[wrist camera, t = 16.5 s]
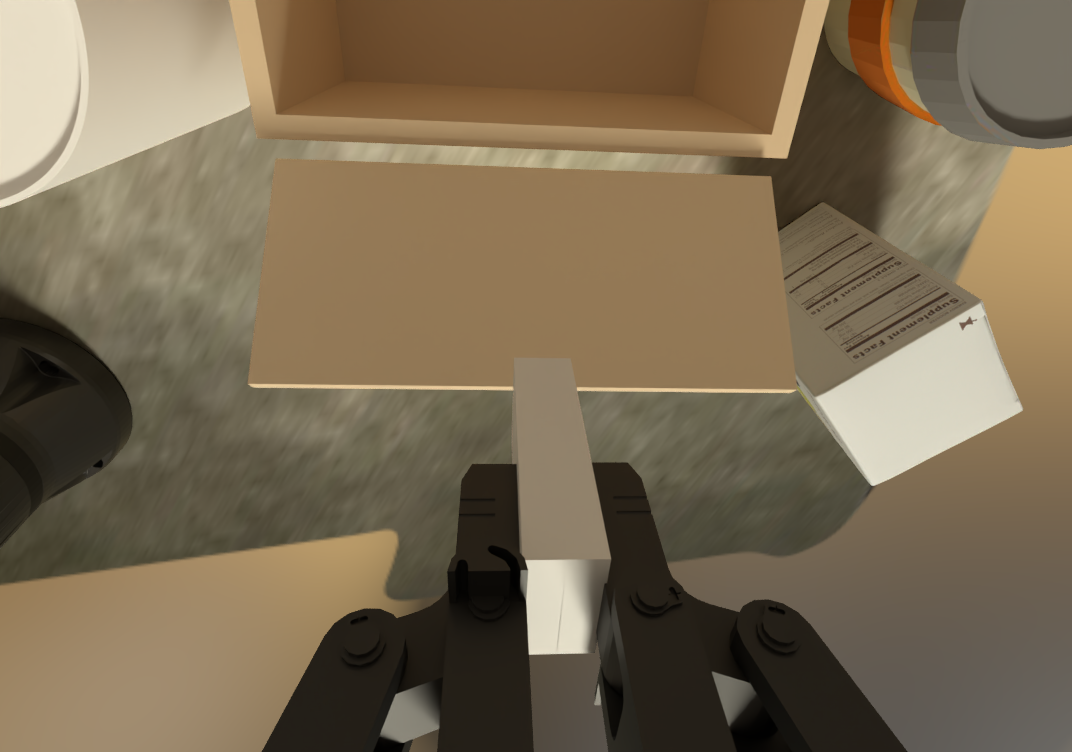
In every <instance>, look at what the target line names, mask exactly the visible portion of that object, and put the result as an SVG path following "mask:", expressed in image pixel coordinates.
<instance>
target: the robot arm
mask: <svg viewBox="0 0 1072 752" xmlns="http://www.w3.org/2000/svg"><path fill="white" fill-rule="evenodd" d="M131 430H132V413H131V408H130V405H129V402H128V399H127V397H126V395H125V393H124V391H123V390H122V388H121V386H120V385H119V383H118V382H117V381H116V379H115V378H114V377H113V376H112V374H111V373H110V372H109V371H108V370H107V369H106V368H105V367H104V366H103V365H102V364H101V363H100V362H99V361H98V360H96V359H95V358H94V357H93V356H92V355H90V354H89V353H88V352H86V351H85V350H83V349H82V348H81V347H79V346H77V345H76V344H74V343H73V342H71V341H69V340H67V339H65V338H64V337H62V336H59V335H57V334H55V333H53V332H51V331H48V330H46V329H43V328H41V327H38V326H34V325H31V324H28V323H24V322H19V321H15V320H9V319H0V548H1V547H2V546H3V545H4V544H5V543H6V542H7V541H8V539H9V538H10V537H11V536H12V535H13V534H14V533H15V532H16V531H17V530H18V529H19V527H20V526H21V525H22V524H23V523H24V522H25V520H26V519H27V518H28V517H29V516H30V515H31V514H32V513H33V512H34V511H35V510H36V509H37V508H38V507H39V506H40V505H41V504H42V503H44V502H46V501H48V500H49V499H51V498H53V497H55V496H57V495H58V494H60V493H62V492H64V491H66V490H67V489H69V488H71V487H73V486H75V485H76V484H78V483H80V482H82V481H83V480H85V479H86V478H89V477H91V476H92V475H94V474H96V473H97V472H99V471H100V470H102V469H103V468H104V467H106V466H107V465H108V464H109V463H110V462H111V461H112V460H113V458H114V457H115V456H116V455H117V454H118V453H119V451H120V450H121V449H122V448H123V447H124V445H125V444H126V443H127V441H128V439H129V436H130V434H131ZM447 573H448V591H447V592H446V593H445V594H444V595H443V596H442V598H441V599H440V600H438V601H437V602H435V603H434V604H433V605H431V606H430V607H428V608H425V609H423V610H420V611H418V612H415V613H412V614H409V615H406V616H403V617H399V618H396V617H395V616H394V615H393V614H391V613H389V612H386V611H384V610H382V609H362V610H358V611H355V612H352V613H349V614H347V615H346V616H344V617H343V618H341V619H340V620H339V621H337V622H336V623H334V625H333V626H332V627H331V629H330V630H329V631H328V632H327V634H326V635H325V636H324V638H323V640H322V642H321V643H320V645H319V647H318V649H317V651H316V653H315V654H314V656H313V658H312V660H311V662H310V664H309V666H308V667H307V669H306V671H305V673H304V675H303V677H302V678H301V681H300V682H299V684H298V686H297V688H296V690H295V691H294V693H293V695H292V697H291V699H290V701H289V702H288V705H287V706H286V708H285V710H284V712H283V713H282V715H281V717H280V719H279V721H278V723H277V724H276V726H275V728H274V730H273V732H272V734H271V736H270V737H269V739H268V741H267V743H266V745H265V747H264V749H263V750H262V752H409V750H410V747H411V744H412V741H413V739H414V738H416V737H419V736H421V735H424V734H426V733H429V732H431V731H434V730H436V729H439V736H438V749H437V752H534V749H533V729H532V710H531V709H532V708H531V688H530V667H529V654H567V653H595V649H596V643H597V641H598V647H599V653H600V660H601V664H600V669H599V674H598V680H597V685H596V691H595V704H594V705H600V702H601V704H602V711H603V718H604V725H605V732H606V739H607V746H608V752H907V751H906V749H905V748H904V747H903V745H902V744H901V743H900V741H899V740H898V739H897V737H896V736H895V735H894V734H893V732H892V731H891V730H890V728H889V727H888V726H887V724H886V723H885V722H884V720H883V719H882V718H881V716H880V715H879V714H878V713H877V711H876V710H875V709H874V707H873V706H872V705H871V703H870V702H869V701H868V699H867V698H866V697H865V696H864V694H863V693H862V692H861V690H860V689H859V688H858V687H857V685H856V684H855V683H854V681H853V680H852V679H851V677H850V676H849V675H848V673H847V672H846V671H845V670H844V668H843V667H842V666H841V664H840V663H839V661H838V660H837V659H836V658H835V656H834V655H833V654H832V652H831V651H830V650H829V648H828V647H827V646H826V644H825V643H824V642H823V641H822V639H821V638H820V637H819V635H818V634H817V633H816V631H815V630H814V629H813V627H812V626H811V625H810V624H809V623H808V622H807V621H806V620H805V619H804V618H803V617H802V616H801V615H800V614H799V613H798V612H797V611H795V610H793V609H792V608H790V607H788V606H786V605H785V604H783V603H779V602H775V601H771V600H754V601H752V602H750V603H748V604H746V605H744V606H743V607H742V609H741V611H740V612H736V611H733V610H729V609H725V608H722V607H718V606H715V605H711V604H708V603H705V602H703V601H700V600H698V599H696V598H694V597H693V596H691V595H689V594H688V593H687V592H685V591H684V589H683V587H682V586H681V585H680V584H679V583H678V582H677V581H676V580H674V579H673V577H672V576H671V574H670V571H669V569H668V566H667V562H666V559H665V556H664V552H663V549H662V546H661V542H660V539H659V536H658V532H657V529H656V526H655V522H654V519H653V516H652V515H651V509H650V506H649V502H648V500H647V496H646V492H645V489H644V486H643V482H642V479H641V477H640V476H639V475H638V474H637V473H636V472H635V470H634V469H633V468H632V467H631V466H630V465H629V464H628V463H592V462H591V457H590V452H589V447H588V442H587V437H586V432H585V427H584V422H583V417H582V412H581V407H580V402H579V397H578V392H577V387H576V383H575V378H574V373H573V368H572V363H571V358H514V375H513V409H512V464H472V465H471V467H470V468H469V470H468V471H467V473H466V474H465V476H464V478H463V479H462V483H461V495H460V508H459V521H458V533H457V546H456V555H455V556H454V557H453V558H452V559H451V562H450V565H449V568H448V571H447Z"/></svg>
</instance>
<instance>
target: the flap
mask: <svg viewBox="0 0 1072 752" xmlns="http://www.w3.org/2000/svg"><path fill="white" fill-rule="evenodd" d="M514 358H571V363H572V368H573V373H574V378H575V383H576V387H577V391H647V392H745V393H791V392H793V391H796V390H797V383H796V374H795V366H794V358H793V350H792V342H791V334H790V326H789V318H788V309H787V301H786V293H785V285H784V277H783V269H782V261H781V253H780V244H779V236H778V228H777V220H776V212H775V204H774V196H773V188H772V179H771V176H747V175H719V174H691V173H664V172H636V171H608V170H580V169H552V168H524V167H497V166H469V165H441V164H413V163H385V162H358V161H330V160H302V159H276V160H275V168H274V176H273V184H272V192H271V200H270V208H269V216H268V224H267V232H266V240H265V248H264V256H263V264H262V272H261V280H260V288H259V296H258V304H257V312H256V320H255V328H254V336H253V344H252V353H251V361H250V369H249V377H248V384H249V385H250V386H252V387H255V388H353V389H451V390H513V375H514Z"/></svg>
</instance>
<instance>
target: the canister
mask: <svg viewBox="0 0 1072 752" xmlns="http://www.w3.org/2000/svg"><path fill="white" fill-rule="evenodd" d="M248 106H250V101H249V96H248V91H247V86H246V81H245V76H244V71H243V67H242V62H241V57H240V52H239V47H238V42H237V37H236V32H235V27H234V22H233V18H232V13H231V8H230V3H229V0H0V208H1V207H4V206H8V205H11V204H13V203H16V202H18V201H21V200H23V199H26V198H28V197H31V196H33V195H36V194H38V193H40V192H43V191H45V190H48V189H50V188H53V187H55V186H58V185H60V184H63V183H65V182H67V181H70V180H72V179H75V178H77V177H80V176H82V175H85V174H87V173H90V172H92V171H95V170H97V169H99V168H102V167H104V166H107V165H109V164H112V163H114V162H117V161H119V160H122V159H124V158H127V157H129V156H131V155H134V154H136V153H139V152H141V151H144V150H146V149H149V148H151V147H154V146H156V145H159V144H161V143H163V142H166V141H168V140H171V139H173V138H176V137H178V136H181V135H183V134H186V133H188V132H191V131H193V130H195V129H198V128H200V127H203V126H205V125H208V124H210V123H213V122H215V121H218V120H220V119H223V118H225V117H227V116H230V115H232V114H235V113H237V112H239V111H241V110H243V109H245V108H247V107H248Z"/></svg>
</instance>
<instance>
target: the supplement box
mask: <svg viewBox="0 0 1072 752" xmlns="http://www.w3.org/2000/svg"><path fill="white" fill-rule="evenodd" d="M778 236H779V244H780V253H781V261H782V269H783V277H784V285H785V293H786V301H787V309H788V318H789V326H790V334H791V342H792V350H793V358H794V366H795V374H796V383H797V390H798V391H799V392H800V393H801V395H802V396H803V397H804V399H805V400H806V401H807V403H808V404H809V405H810V407H811V408H812V409H813V411H814V412H815V413H816V415H817V416H818V417H819V418H820V420H821V421H822V422H823V424H824V425H825V426H826V428H827V429H828V430H829V431H830V433H831V434H832V435H833V437H834V438H835V439H836V441H837V442H838V443H839V444H840V446H841V447H842V448H843V450H844V451H845V452H846V454H847V455H848V456H849V458H850V459H851V460H852V462H853V463H854V464H855V465H856V467H857V468H858V469H859V471H860V472H861V473H862V475H863V476H864V477H865V478H866V480H867V481H868V482H869V484H870V485H872V486H875V485H877V484H879V483H881V482H883V481H886V480H888V479H890V478H892V477H894V476H896V475H898V474H900V473H902V472H904V471H906V470H908V469H910V468H912V467H914V466H916V465H917V464H919V463H921V462H923V461H925V460H927V459H929V458H931V457H933V456H935V455H937V454H939V453H941V452H943V451H945V450H947V449H948V448H951V447H953V446H955V445H957V444H959V443H961V442H963V441H964V440H967V439H969V438H970V437H973V436H975V435H977V434H979V433H981V432H983V431H984V430H987V429H988V428H990V427H992V426H994V425H996V424H998V423H1000V422H1002V421H1004V420H1006V419H1008V418H1009V417H1012V416H1013V415H1015V414H1017V413H1019V412H1021V411H1022V410H1023V407H1022V405H1021V403H1020V401H1019V399H1018V396H1017V394H1016V392H1015V389H1014V387H1013V385H1012V382H1011V380H1010V378H1009V376H1008V373H1007V371H1006V368H1005V366H1004V363H1003V361H1002V358H1001V356H1000V353H999V351H998V348H997V345H996V342H995V339H994V336H993V333H992V330H991V328H990V325H989V322H988V319H987V315H986V312H985V308H984V304H983V301H982V300H981V299H979V298H977V297H976V296H974V295H973V294H971V293H970V292H968V291H966V290H965V289H963V288H961V287H960V286H958V285H957V284H955V283H953V282H952V281H950V280H948V279H947V278H945V277H944V276H942V275H940V274H939V273H937V272H936V271H934V270H932V269H931V268H929V267H928V266H926V265H924V264H923V263H921V262H919V261H918V260H916V259H914V258H913V257H911V256H909V255H908V254H906V253H904V252H903V251H901V250H899V249H898V248H896V247H895V246H893V245H892V244H890V243H888V242H887V241H885V240H884V239H882V238H880V237H879V236H877V235H876V234H874V233H873V232H871V231H869V230H868V229H866V228H865V227H863V226H861V225H860V224H858V223H856V222H855V221H853V220H852V219H850V218H848V217H847V216H845V215H844V214H842V213H840V212H839V211H837V210H836V209H834V208H832V207H831V206H829V205H827V204H826V203H824V202H822V203H820V204H818V205H817V206H815V207H814V208H812V209H811V210H810V211H808V212H807V213H805V214H804V215H802V216H801V217H799V218H798V219H796V220H795V221H793V222H792V223H790V224H789V225H788V226H786V227H785V228H783V229H782V230H780V231H779V232H778Z"/></svg>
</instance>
